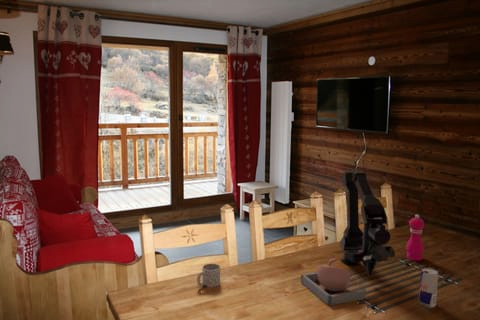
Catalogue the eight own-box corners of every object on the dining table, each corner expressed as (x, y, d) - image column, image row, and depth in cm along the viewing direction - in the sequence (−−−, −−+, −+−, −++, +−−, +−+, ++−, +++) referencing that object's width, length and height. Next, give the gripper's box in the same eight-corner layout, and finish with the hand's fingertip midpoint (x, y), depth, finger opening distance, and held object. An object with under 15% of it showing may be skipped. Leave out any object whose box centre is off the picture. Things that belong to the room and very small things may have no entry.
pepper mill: (424, 261, 179) (428, 217, 176) (407, 260, 180) (410, 216, 177) (420, 255, 186) (424, 212, 183) (404, 254, 187) (407, 211, 184)
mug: (212, 278, 160) (212, 262, 159) (223, 283, 155) (223, 267, 154) (191, 286, 153) (191, 269, 152) (203, 292, 148) (203, 274, 148)
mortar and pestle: (351, 285, 155) (352, 256, 153) (348, 299, 144) (349, 268, 142) (319, 280, 159) (320, 252, 157) (314, 294, 148) (315, 263, 146)
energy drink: (415, 300, 143) (418, 268, 142) (430, 300, 144) (432, 267, 142) (423, 308, 138) (426, 274, 136) (438, 307, 139) (441, 274, 137)
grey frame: (300, 282, 157) (301, 274, 157) (334, 276, 163) (335, 269, 162) (328, 305, 139) (328, 297, 139) (365, 298, 145) (366, 290, 144)
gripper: (363, 245, 143) (361, 287, 145) (406, 239, 149) (403, 280, 152) (345, 235, 153) (343, 275, 156) (385, 230, 160) (383, 268, 162)
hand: (368, 275), depth 156 cm, fingers closed
